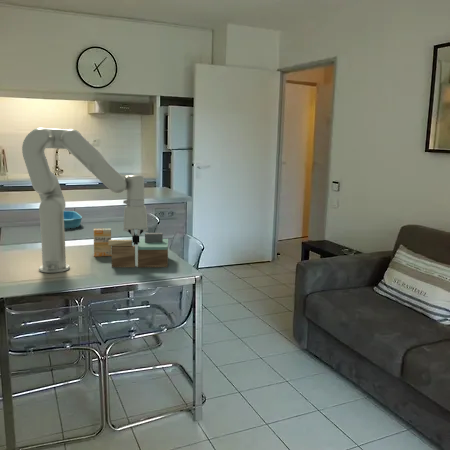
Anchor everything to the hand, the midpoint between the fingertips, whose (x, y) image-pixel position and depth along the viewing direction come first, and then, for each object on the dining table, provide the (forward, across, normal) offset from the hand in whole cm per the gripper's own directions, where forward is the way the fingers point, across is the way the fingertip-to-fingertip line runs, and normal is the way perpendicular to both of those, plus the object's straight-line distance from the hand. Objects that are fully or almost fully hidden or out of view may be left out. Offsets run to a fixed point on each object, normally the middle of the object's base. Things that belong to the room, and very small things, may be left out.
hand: (135, 244), depth 216 cm
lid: (+2, +8, +7) cm, 11 cm away
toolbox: (+10, +2, +7) cm, 13 cm away
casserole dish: (+11, -55, +104) cm, 118 cm away
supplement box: (+10, -18, +21) cm, 29 cm away
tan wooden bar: (+1, -7, 0) cm, 7 cm away
